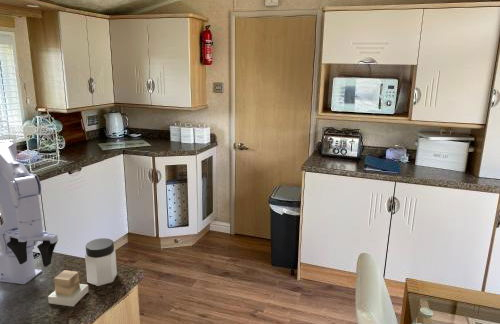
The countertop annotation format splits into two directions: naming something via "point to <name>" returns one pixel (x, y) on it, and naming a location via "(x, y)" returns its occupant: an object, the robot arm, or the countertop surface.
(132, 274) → the countertop surface
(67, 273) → the oak block
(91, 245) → the jar
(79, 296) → the tile base
